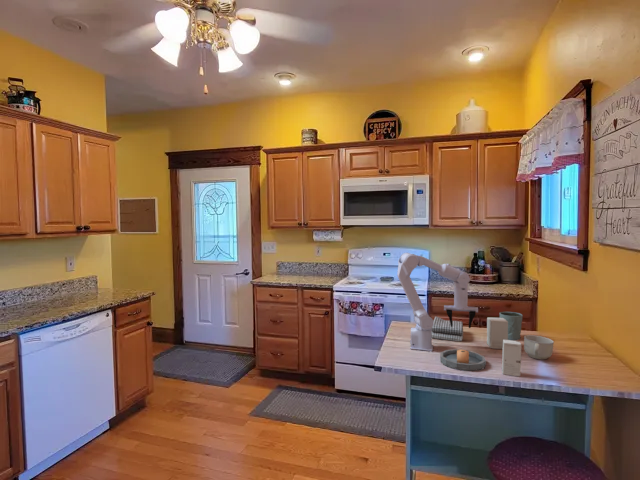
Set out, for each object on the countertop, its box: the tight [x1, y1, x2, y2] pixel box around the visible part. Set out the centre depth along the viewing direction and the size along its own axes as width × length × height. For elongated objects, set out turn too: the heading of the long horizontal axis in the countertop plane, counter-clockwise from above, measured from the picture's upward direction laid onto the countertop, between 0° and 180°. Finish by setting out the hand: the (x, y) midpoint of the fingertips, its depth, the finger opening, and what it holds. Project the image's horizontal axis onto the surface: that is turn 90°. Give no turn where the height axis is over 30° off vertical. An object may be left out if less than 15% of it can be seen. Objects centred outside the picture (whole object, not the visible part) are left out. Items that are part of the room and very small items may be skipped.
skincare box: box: [501, 340, 522, 377], centre depth 139 cm, size 6×4×12 cm
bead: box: [457, 349, 469, 364], centre depth 146 cm, size 4×4×5 cm
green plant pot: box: [499, 311, 523, 341], centre depth 183 cm, size 10×10×12 cm
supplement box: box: [486, 317, 508, 350], centre depth 170 cm, size 7×7×13 cm
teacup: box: [523, 334, 555, 360], centre depth 155 cm, size 14×11×8 cm
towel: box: [432, 315, 464, 342], centre depth 187 cm, size 15×18×8 cm
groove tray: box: [439, 348, 487, 372], centre depth 151 cm, size 17×17×2 cm
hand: (460, 326), depth 169 cm, fingers open, 7 cm apart
